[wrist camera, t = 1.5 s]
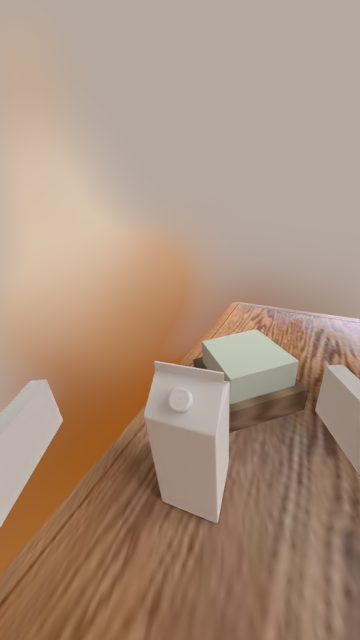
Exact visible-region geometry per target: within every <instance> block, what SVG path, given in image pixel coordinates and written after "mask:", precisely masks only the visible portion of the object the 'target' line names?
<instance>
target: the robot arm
mask: <svg viewBox="0 0 360 640" xmlns="http://www.w3.org/2000/svg"><path fill="white" fill-rule="evenodd" d="M315 411H316V412H317V414H318V415H319V417H320V418H321V420H322V421H323V423H324V424H325V426H326V427H327V428H328V430H329V431H330V433H331V434H332V436H333V437H334V439H335V440H336V442H337V443H338V445H339V446H340V448H341V449H342V451H343V452H344V453H345V455H346V456H347V458H348V459H349V461H350V462H351V464H352V465H353V467H354V468H355V470H356V471H357V473H358V474H359V476H360V380H359V379H358V378H357V377H356V376H355V375H354V374H353V373H352V372H350V371H349V370H348V369H347V368H346V367H345V366H344V365H328V366H326V368H325V372H324V376H323V380H322V384H321V388H320V392H319V396H318V400H317V404H316V408H315ZM62 422H63V419H62V417H61V414H60V412H59V409H58V407H57V404H56V402H55V399H54V397H53V395H52V392H51V390H50V387H49V385H48V382H47V380H31V381H30V382H29V383H28V384H27V385H26V386H25V387H24V388H23V389H22V391H21V392H20V393H19V394H18V395H17V396H16V397H15V398H14V399H13V400H12V401H11V402H10V403H9V405H8V406H7V407H6V408H5V409H4V410H3V411H2V412H1V413H0V527H1V525H2V524H3V522H4V520H5V518H6V517H7V515H8V513H9V512H10V510H11V508H12V507H13V505H14V503H15V502H16V500H17V498H18V496H19V495H20V493H21V491H22V490H23V488H24V486H25V484H26V483H27V481H28V479H29V477H30V476H31V474H32V473H33V471H34V469H35V468H36V466H37V464H38V462H39V461H40V459H41V457H42V456H43V454H44V452H45V450H46V448H47V447H48V445H49V444H50V442H51V440H52V439H53V437H54V435H55V434H56V432H57V430H58V428H59V427H60V425H61V423H62Z"/></svg>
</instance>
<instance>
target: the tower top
mask: <svg viewBox="0 0 360 640" xmlns="http://www.w3.org/2000/svg"><path fill="white" fill-rule="evenodd" d="M202 353H203V363H204V365H205V366H206V368H207V369H208V370H213V371H219V372H223V373H224V381H227V382H230V394H229V403H230V404H233V403H236V402H240V401H243V400H247V399H250V398H254V397H257V396H260V395H264V394H267V393H271V392H274V391H277V390H281V389H284V388H288V387H291V386H294V385H295V381H296V375H297V369H298V363H299V361H298V360H297V359H295V358H294V357H293V356H291V355H290V354H289V353H287V352H286V351H285V350H283V349H282V348H281V347H279V346H278V345H277V344H275V343H274V342H273V341H271V340H270V339H269V338H267V337H266V336H265V335H263V334H262V333H261V332H259V331H258V330H257V329H255V330H250V331H246V332H241V333H237V334H232V335H228V336H223V337H219V338H214V339H210V340H205V341H202Z"/></svg>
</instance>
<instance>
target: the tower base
mask: <svg viewBox="0 0 360 640" xmlns="http://www.w3.org/2000/svg"><path fill="white" fill-rule="evenodd" d="M193 361H194V367H195V368H201V369H207V368H206V366H205V365H204V363H203V357H202V358H198V359H194V360H193ZM207 370H208V369H207ZM307 392H308V389H307V388H306V387H305V386H304V385H303V384H302V383H300V382H299V381H298V380H297V379H296V381H295V385H294V386H291V387H288V388H284V389H281V390H277V391H274V392H271V393H267V394H264V395H260V396H257V397H254V398H250V399H247V400H243V401H240V402H236V403H233V404H230V403H229V433H230V432H233V431H237V430H240V429H243V428H246V427H249V426H252V425H255V424H259V423H262V422H265V421H268V420H271V419H274V418H278V417H281V416H284V415H287V414H290V413H293V412H297V411H300V410H303V409H304V407H305V402H306V397H307Z"/></svg>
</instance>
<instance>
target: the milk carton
mask: <svg viewBox="0 0 360 640" xmlns="http://www.w3.org/2000/svg"><path fill="white" fill-rule="evenodd" d="M154 365H155V373H154V377H153V381H152V385H151V389H150V393H149V397H148V401H147V405H146V409H145V413H144V419H145V424H146V428H147V433H148V438H149V442H150V447H151V451H152V456H153V461H154V465H155V470H156V475H157V479H158V484H159V488H160V493H161V498H162V501H163V502H165V503H168V504H170V505H172V506H175V507H177V508H180V509H182V510H185V511H187V512H189V513H192V514H194V515H197V516H199V517H202V518H204V519H206V520H209V521H211V522H214V523H218V520H219V514H220V509H221V503H222V498H223V492H224V487H225V481H226V476H227V470H228V465H229V394H230V382H227V381H224V373H223V372H219V371H213V370H207V369H201V368H195V367H189V366H183V365H176V364H170V363H164V362H158V361H155V362H154Z"/></svg>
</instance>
